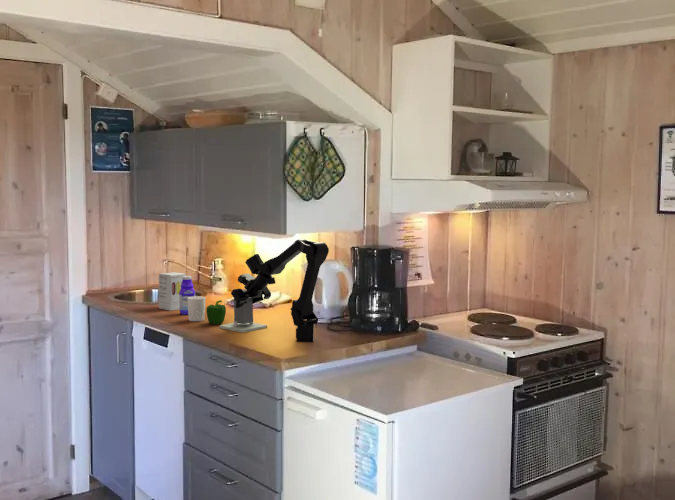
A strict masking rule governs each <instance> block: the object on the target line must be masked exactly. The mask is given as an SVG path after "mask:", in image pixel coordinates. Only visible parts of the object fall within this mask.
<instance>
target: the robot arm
mask: <svg viewBox="0 0 675 500" xmlns="http://www.w3.org/2000/svg"><path fill="white" fill-rule="evenodd" d="M329 252H330V250H329V247H328V245H327V243H326V242H318V241H317V242H316V241H311V240H309V239H303V238H302V239H297V240H295V241H294V242H293V243H292V244H291V245H289V246H288V247H287V248H286V249H285V250H283V251H282V252H281V253H279V255H277V256H275V257H272V258H270V259H268V260H266V261H264V260H263V259H262V257H260V254H258V253H257V254H256V253H255V254H254V255H252V256H250V257H248V258H247V259H246V261H244V262H245V265H246V266H247V268H248V269H249V271H250V272H251V274H250V273H241V274H239V276H238V277H237V282H238V283H239V284H243V285H244V287H243V288H244V289H245V290H247V291H245V293H244V292H243V290H242V288H233V289H232V290H231V291H230V295H231V296H232V297H233V300H234V299H235V301H236V302H237V303H236V308H239V307H241V306H242V305H244V304H246V303H247V301H246V300H247V299H248V298H251V297H252V298H253V305H254V304H256V303H259V302H263V301H265V300H269V299H270V298H271V296H272V293H271V290H270V289H269V288H268V285H275V284H276V279H275V278H276V277H274V276H275V275H279V274H281V273H282V272H283V271H284V269H286V265H287V264H288V263H289V262H290V261H292V260H293V259H294V258H295V257H297V256H299V255H300V254H301V253H302V254H304V255H305V260H306V262H307V265H306V269H305V274H304V277H303V281H302V286H301V290H300V293H299V297H298V298H297V299H293V300H292V303H291V308H290V309H289V310H290V316H291V319H292V322H293V325H294V326H296V328H295V340H296V342H304V343H305V342H308V343H309V342H311V343H313V342H314V340H315V336H314V335H315V334H314V333H315V328H314V327H315V325H317V324H318V323H319V318H318V316H317V315H316V314H315V312H314V303H313V296H314V292H315V288H316V286H317V285H316V284H317V281H318V278H319V277H318V275H319V272H320V268H321V266H322V264H324V263H325V261H326V259H327V257H328V255H329ZM253 275H257V276H255V277H254V276H253ZM273 275H274V276H273Z"/></svg>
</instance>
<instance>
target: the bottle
mask: <svg viewBox="0 0 675 500" xmlns="http://www.w3.org/2000/svg"><path fill="white" fill-rule="evenodd" d="M192 296H196V291H195V288H194V283H193V281H192V276H191V275H186V276H183V277H182V284H181V290H180V292H179V309H178V310H179V313H180V314H181V315H189V314H188V302H187V298H188V297H192Z"/></svg>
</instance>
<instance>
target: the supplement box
mask: <svg viewBox="0 0 675 500" xmlns="http://www.w3.org/2000/svg"><path fill="white" fill-rule="evenodd" d="M183 276H187V274H186V273H183V272H175V271H172V272H162V273H158V309H161V310H165V311H169V312H171V311H177V310H180V309H179V292H180V290H181V284H182V277H183Z"/></svg>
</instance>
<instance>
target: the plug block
mask: <svg viewBox="0 0 675 500" xmlns="http://www.w3.org/2000/svg"><path fill="white" fill-rule="evenodd" d="M241 289H242V288H241ZM242 290H243V292H244V293H245V291H247V289H245V288H244V289H242ZM246 301H247V303H246V304H244V305H242V306H241V307H239V308H236V303H237V302H236V301H235V299H234V298H233V310H234V311H233V314H234V318H233V322H234V321H238V323H240V324H246V323H251V322H253V323H254V307H253V306H254V304H253V298H252V297H251V298H248V299H247V300H246Z"/></svg>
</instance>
